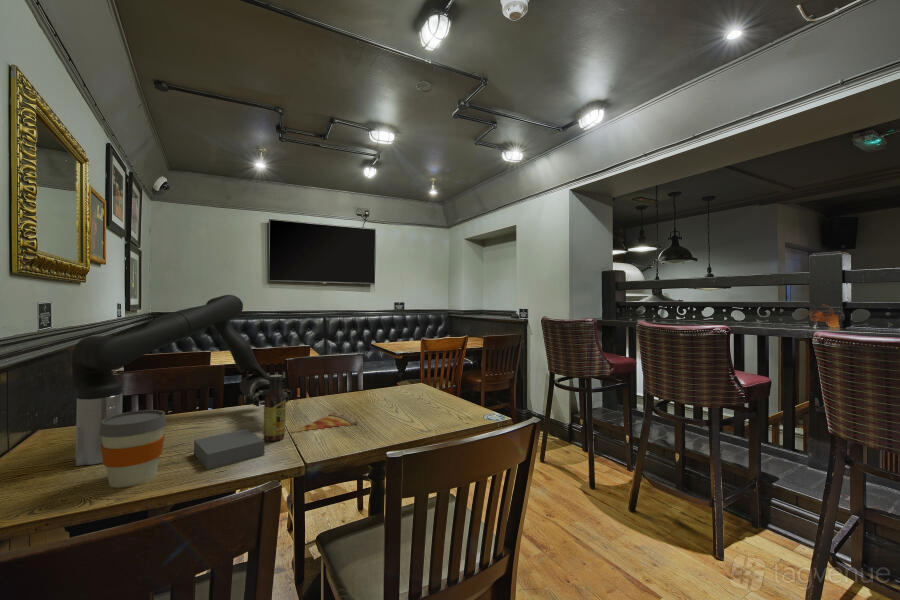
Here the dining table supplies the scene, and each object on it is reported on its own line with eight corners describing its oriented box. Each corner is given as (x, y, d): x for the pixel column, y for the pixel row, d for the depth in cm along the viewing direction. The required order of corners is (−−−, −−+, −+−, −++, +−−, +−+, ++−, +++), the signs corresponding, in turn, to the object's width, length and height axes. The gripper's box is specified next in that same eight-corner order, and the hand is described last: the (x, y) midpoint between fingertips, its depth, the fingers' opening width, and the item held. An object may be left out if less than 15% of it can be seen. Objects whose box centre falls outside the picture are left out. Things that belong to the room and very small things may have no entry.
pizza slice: (288, 421, 141) (288, 415, 141) (349, 414, 150) (350, 409, 150) (290, 434, 127) (290, 428, 127) (358, 426, 136) (358, 420, 136)
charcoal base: (207, 470, 99) (207, 454, 99) (193, 454, 108) (194, 440, 109) (264, 454, 109) (264, 440, 109) (247, 441, 118) (247, 428, 118)
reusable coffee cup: (171, 478, 94) (172, 416, 94) (102, 497, 85) (103, 429, 85) (158, 463, 102) (159, 406, 103) (95, 478, 93) (96, 417, 93)
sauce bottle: (279, 442, 118) (280, 378, 118) (259, 442, 118) (260, 377, 118) (288, 435, 125) (289, 373, 125) (269, 434, 125) (270, 373, 125)
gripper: (240, 383, 134) (248, 392, 120) (284, 378, 142) (295, 386, 129) (240, 404, 133) (247, 416, 120) (284, 399, 142) (295, 409, 129)
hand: (272, 401), depth 125 cm, fingers open, 8 cm apart
